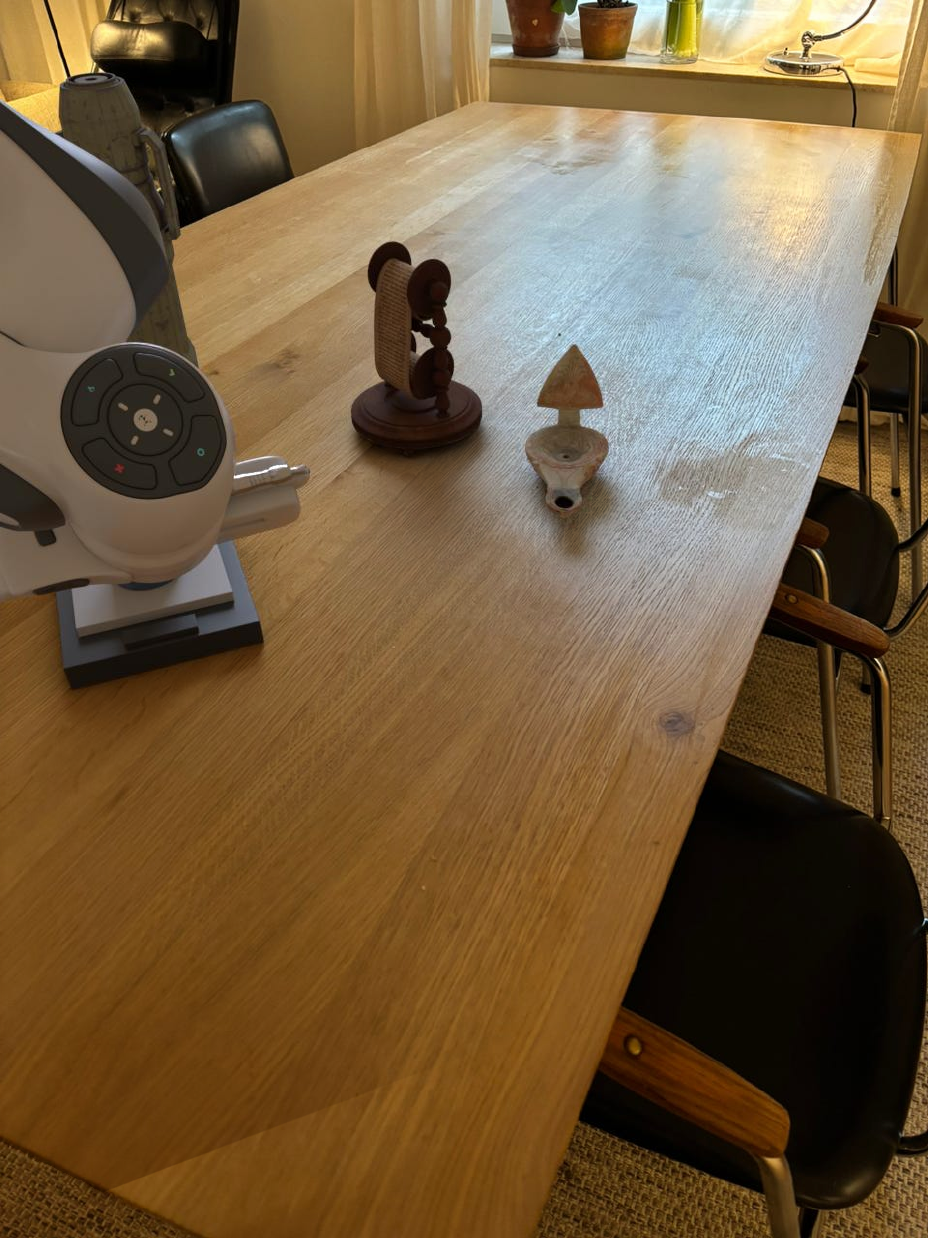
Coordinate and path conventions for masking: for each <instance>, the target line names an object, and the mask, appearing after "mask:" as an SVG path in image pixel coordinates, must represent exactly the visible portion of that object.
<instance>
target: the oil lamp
mask: <svg viewBox="0 0 928 1238" xmlns="http://www.w3.org/2000/svg"><path fill="white" fill-rule="evenodd" d="M536 406H537V407H538V408H546V409H553V410H554V409H555V410H557V411H558V413H557V414H558V415H557V422H556V424H551V425H549V426H548V425H547V426H545V427H542V428H539V429H538V430H537V429H536V430H535V431H533V432H532V433H531V434H530V435H529V436H528V437H527V439H526V440H525V444H524V452H525V455H526V458H527V459H528V463H529V464H530V466H531V468H532V470H533V471H534V472H535V474H537V475H538V476H539V477H540V479H542V480H543V481H544V483H545V484H546V487H547V488H546V490H547V493H546V495H545V498H544V499H545V503H546V506H547V507H548V508H549V510H550V511H551V512H552V513H554V514H555V515H557V516H558V517H560V518H562V519H566V518H568V517H570V516H572V515H574V514H575V513H576V512H577V511H578V510H579V509H580V507H581V506H582V504H583V497H582V494H581V488H582V487H583V485H584V484H585V483H586V482H588V481H589V480H590V479H592V478H593V477H594V476H595V475H596V473H597V472H598V471H599V470H600V468H601V466H602V464H603V463H604V461H605V460H606V458H607V456H608V454H609V452H610V443H609V440H608V438H607V437H606V436H605V435H604V434H603V433H601V432H600V431H598V430H596V429H593V428H590V427H587V426H583V425H581V410H595V409H601V408H603V407H604V398H603V394H602V390H601V387H600V384H599V381H598V379H597V377H596V375H595V372H594V370H593V369H592V366H591V365H590V363H589V362H588V360H587V359H586V357H585V355H584V354H583V353H582V351H581V349H580V348H579V346H578V344H576V343H573V344H571V345H570V346H569V348H568V349H567V350H566V352H565V353H564V354H563V355H562V356H561V357H560V359H559V360H558V361H557V363H556V364H554V366H553V367H552V368H551V371H550V373H549V374H548V375H547V377H546V379H545V381H544V382H543V385H542V387H541V389H540V391H539V393H538V397H537V400H536Z"/></svg>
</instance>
